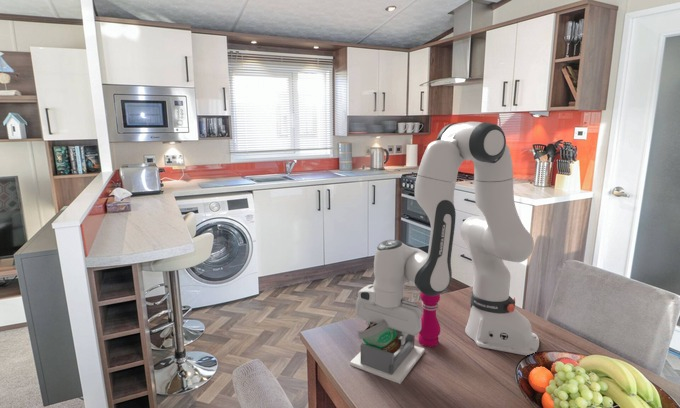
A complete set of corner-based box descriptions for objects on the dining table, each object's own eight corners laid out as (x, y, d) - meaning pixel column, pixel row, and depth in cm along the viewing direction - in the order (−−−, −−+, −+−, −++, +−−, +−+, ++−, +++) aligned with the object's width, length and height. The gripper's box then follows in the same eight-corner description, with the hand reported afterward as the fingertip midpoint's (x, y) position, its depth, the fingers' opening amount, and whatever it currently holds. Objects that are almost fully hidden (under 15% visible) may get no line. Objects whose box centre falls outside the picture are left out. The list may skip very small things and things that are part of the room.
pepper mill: (440, 349, 122) (443, 289, 118) (416, 346, 124) (418, 287, 120) (439, 336, 129) (442, 280, 125) (417, 334, 131) (419, 278, 127)
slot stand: (424, 351, 121) (425, 331, 120) (400, 384, 106) (400, 361, 105) (378, 336, 130) (378, 317, 128) (350, 364, 115) (349, 343, 113)
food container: (383, 365, 110) (367, 333, 110) (372, 362, 115) (356, 332, 115) (412, 339, 116) (397, 309, 116) (400, 338, 121) (385, 309, 121)
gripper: (426, 300, 111) (423, 344, 114) (363, 283, 122) (363, 324, 125) (417, 308, 106) (415, 355, 109) (353, 291, 117) (352, 333, 120)
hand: (386, 338), depth 117 cm, fingers open, 8 cm apart
